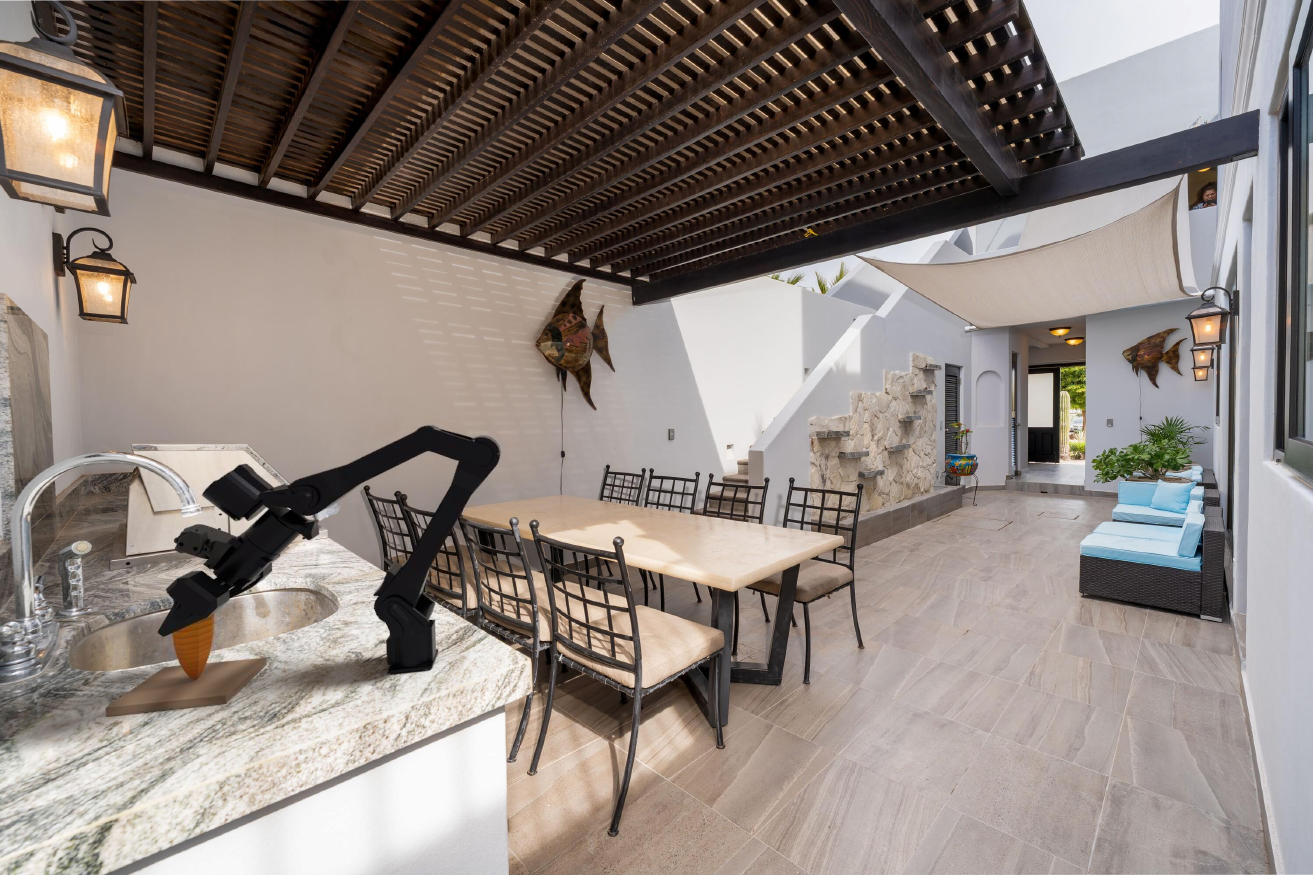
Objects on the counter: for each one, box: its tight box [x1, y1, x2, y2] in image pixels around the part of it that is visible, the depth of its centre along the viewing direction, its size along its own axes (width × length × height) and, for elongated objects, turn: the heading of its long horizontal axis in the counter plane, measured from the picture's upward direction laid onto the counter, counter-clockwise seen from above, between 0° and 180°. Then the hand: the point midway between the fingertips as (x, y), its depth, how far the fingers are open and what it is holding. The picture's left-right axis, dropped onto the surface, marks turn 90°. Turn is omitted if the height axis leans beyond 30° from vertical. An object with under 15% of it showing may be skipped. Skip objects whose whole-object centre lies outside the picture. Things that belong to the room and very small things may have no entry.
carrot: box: [171, 613, 215, 680], centre depth 81 cm, size 5×5×15 cm
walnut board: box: [105, 657, 268, 717], centre depth 81 cm, size 14×12×1 cm
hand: (180, 621), depth 81 cm, fingers open, 9 cm apart
